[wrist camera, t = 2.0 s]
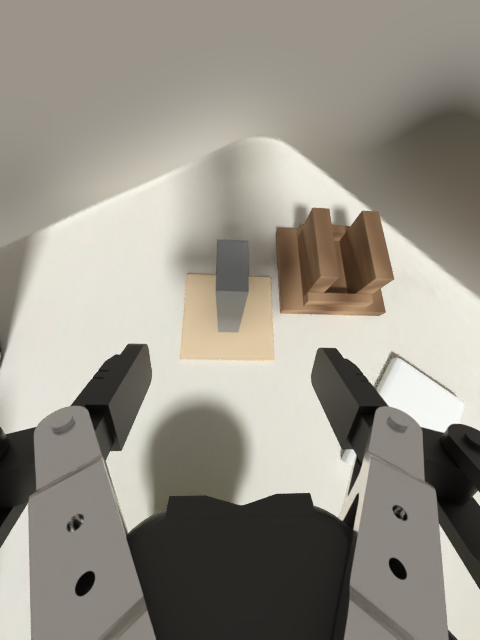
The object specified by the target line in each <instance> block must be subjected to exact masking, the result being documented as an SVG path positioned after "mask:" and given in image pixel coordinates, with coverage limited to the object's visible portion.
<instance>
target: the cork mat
mask: <svg viewBox="0 0 480 640" xmlns="http://www.w3.org/2000/svg"><path fill="white" fill-rule="evenodd" d="M180 360H255V361H274V338H273V316H272V294H271V277H256V276H249V293H248V297H247V301H246V305H245V308H244V312H243V316H242V320H241V324H240V328H239V332H218V321H217V306H216V275H202V274H187V277H186V290H185V302H184V314H183V326H182V338H181V350H180Z"/></svg>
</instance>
